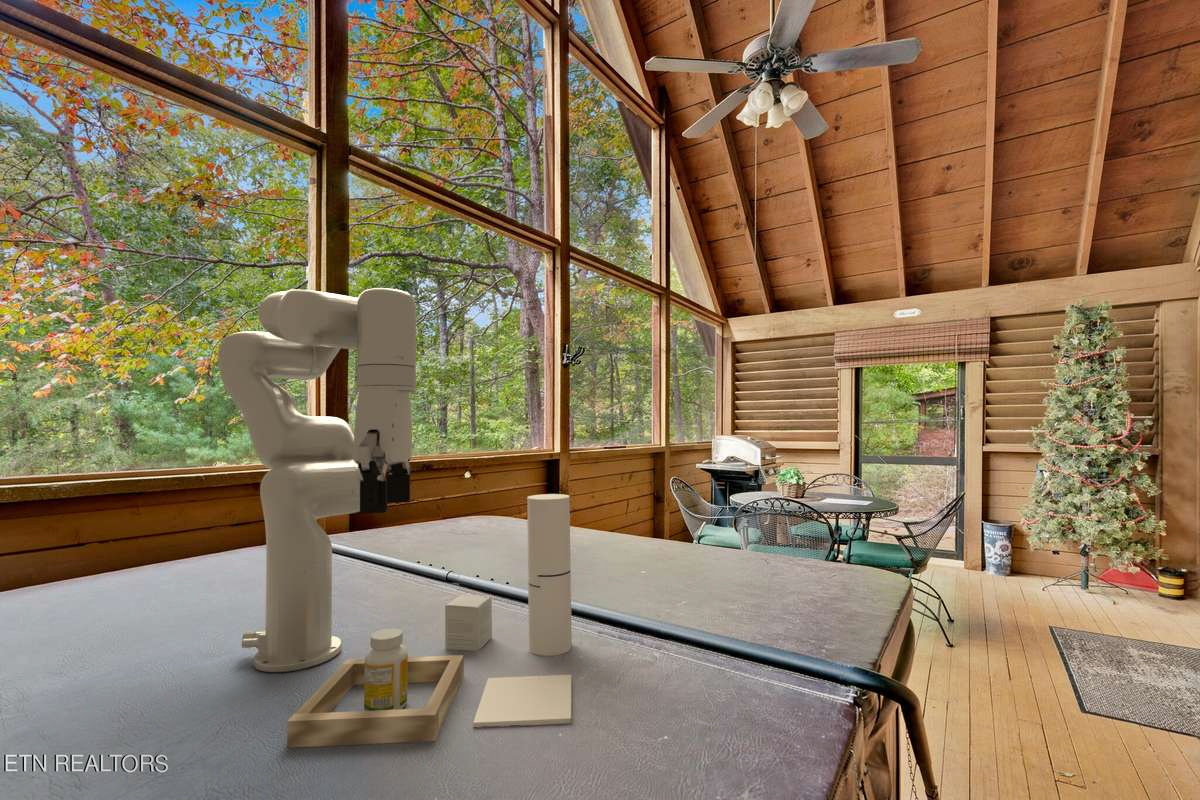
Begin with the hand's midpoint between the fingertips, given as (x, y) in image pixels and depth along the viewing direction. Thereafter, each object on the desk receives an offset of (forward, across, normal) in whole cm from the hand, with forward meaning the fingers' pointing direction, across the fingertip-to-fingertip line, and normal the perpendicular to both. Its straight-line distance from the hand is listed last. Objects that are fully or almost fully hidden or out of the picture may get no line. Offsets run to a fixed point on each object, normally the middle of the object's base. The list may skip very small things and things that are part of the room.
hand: (386, 507), depth 74 cm
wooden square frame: (+26, 0, 0) cm, 26 cm away
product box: (+27, -21, +7) cm, 35 cm away
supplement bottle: (+26, 0, 0) cm, 26 cm away
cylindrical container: (+26, -18, +21) cm, 38 cm away
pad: (+26, 0, +18) cm, 32 cm away
